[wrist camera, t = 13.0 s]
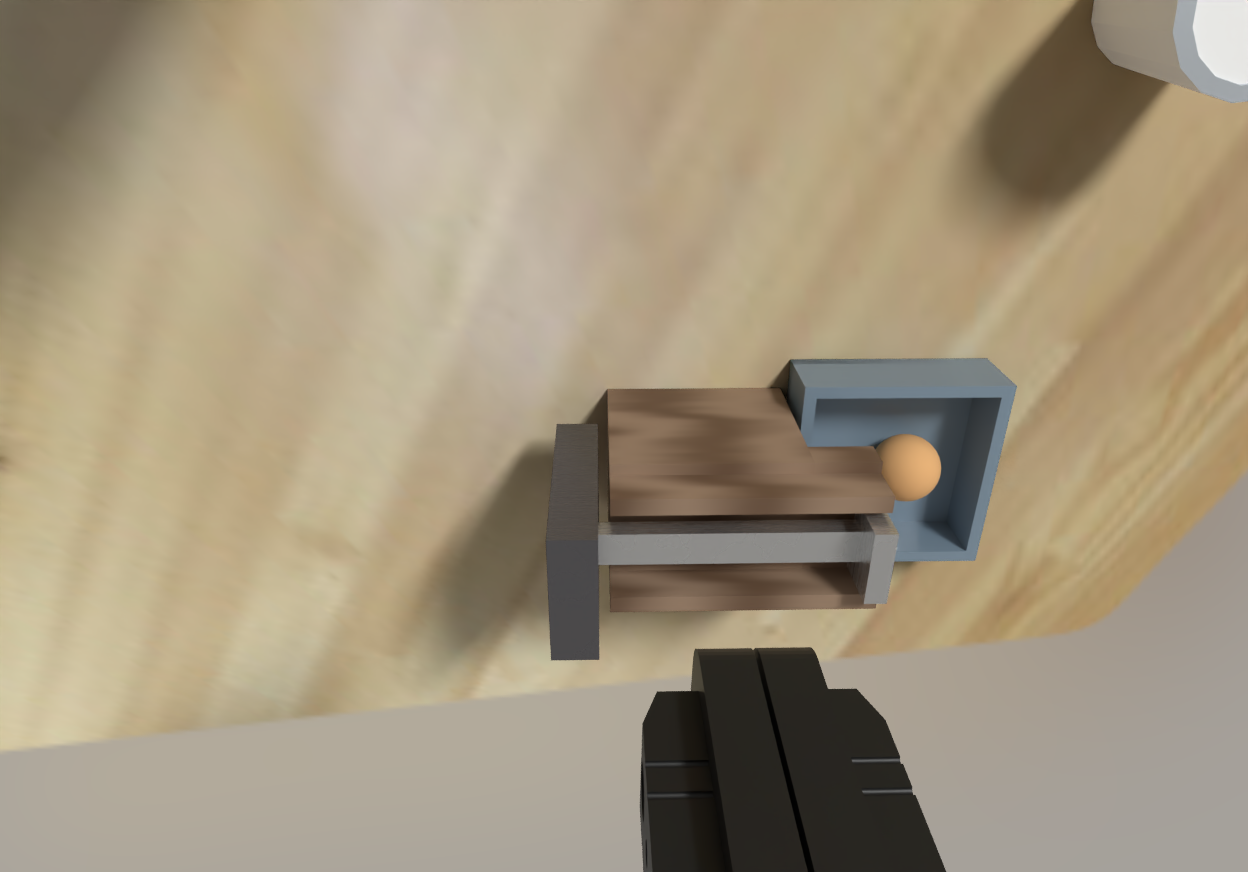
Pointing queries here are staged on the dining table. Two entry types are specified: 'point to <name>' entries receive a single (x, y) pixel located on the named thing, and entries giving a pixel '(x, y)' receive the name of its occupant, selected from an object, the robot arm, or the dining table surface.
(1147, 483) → the dining table surface
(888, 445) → the ball
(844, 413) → the blue square tray
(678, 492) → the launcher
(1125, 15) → the white cup
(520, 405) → the dining table surface
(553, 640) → the pusher
